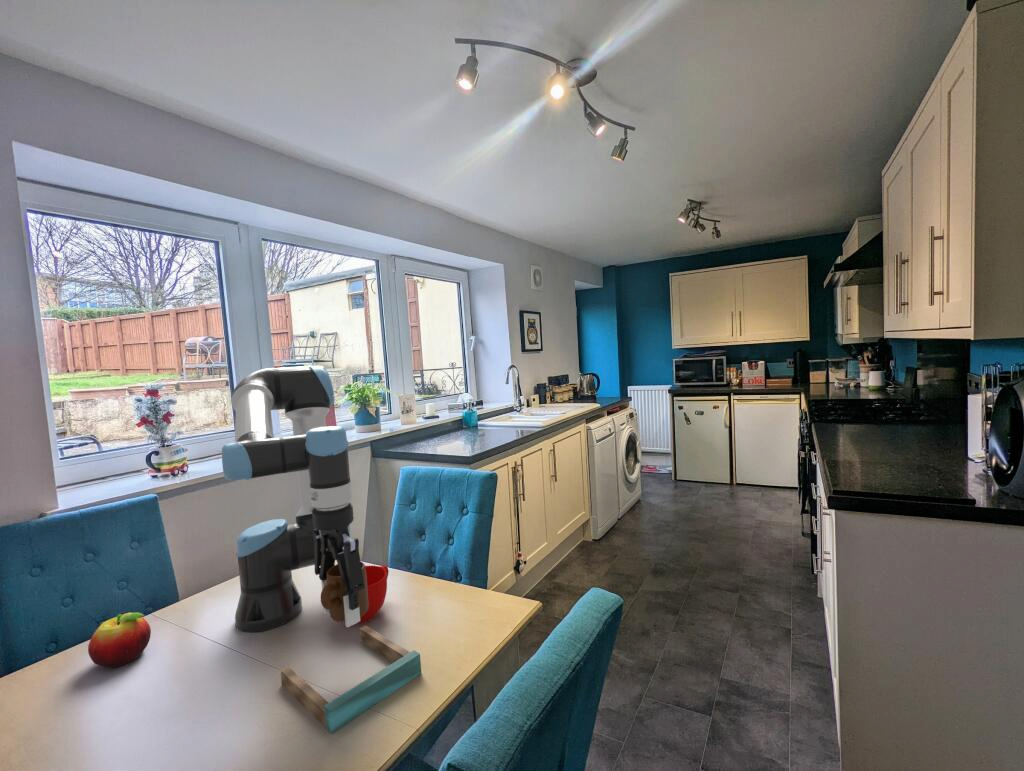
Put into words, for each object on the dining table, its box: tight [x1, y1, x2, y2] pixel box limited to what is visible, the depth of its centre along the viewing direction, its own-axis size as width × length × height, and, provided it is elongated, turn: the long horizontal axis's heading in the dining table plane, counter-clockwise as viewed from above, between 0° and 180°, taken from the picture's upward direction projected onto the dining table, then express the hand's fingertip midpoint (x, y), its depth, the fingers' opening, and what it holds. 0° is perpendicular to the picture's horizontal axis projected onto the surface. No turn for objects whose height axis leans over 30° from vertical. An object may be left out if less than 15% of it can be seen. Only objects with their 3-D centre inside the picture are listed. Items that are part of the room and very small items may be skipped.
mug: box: [320, 561, 369, 623], centre depth 93 cm, size 12×8×9 cm, turn 168°
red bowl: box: [357, 565, 389, 624], centre depth 118 cm, size 13×17×10 cm
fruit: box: [87, 611, 152, 669], centre depth 104 cm, size 11×11×10 cm
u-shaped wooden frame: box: [280, 625, 422, 734], centre depth 93 cm, size 20×19×4 cm
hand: (341, 616), depth 94 cm, fingers closed on mug, 8 cm apart
